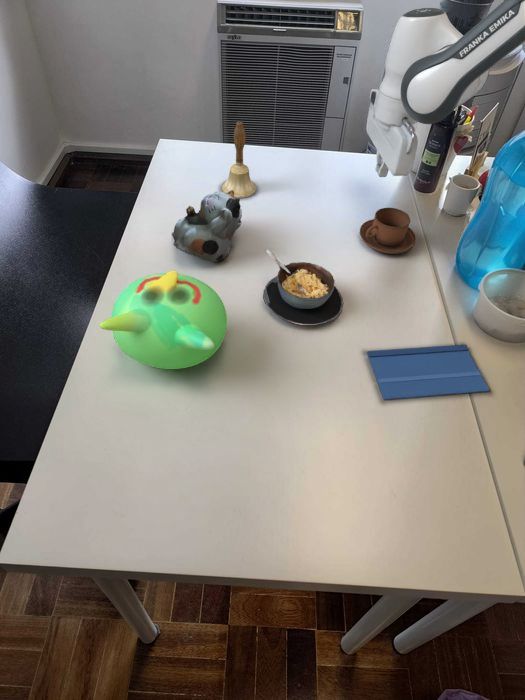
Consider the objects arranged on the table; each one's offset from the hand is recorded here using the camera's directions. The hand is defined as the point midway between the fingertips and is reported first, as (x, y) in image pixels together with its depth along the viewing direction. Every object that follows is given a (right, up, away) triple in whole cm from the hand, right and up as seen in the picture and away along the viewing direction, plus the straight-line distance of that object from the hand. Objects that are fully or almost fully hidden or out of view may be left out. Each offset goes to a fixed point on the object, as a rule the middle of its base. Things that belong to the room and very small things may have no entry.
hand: (380, 173), depth 102 cm
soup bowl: (-18, -29, -13) cm, 37 cm away
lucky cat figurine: (-38, -17, -3) cm, 41 cm away
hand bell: (-31, +1, +12) cm, 34 cm away
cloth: (+2, -42, -23) cm, 48 cm away
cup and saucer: (+1, -15, +1) cm, 15 cm away
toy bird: (-41, -39, -23) cm, 61 cm away
